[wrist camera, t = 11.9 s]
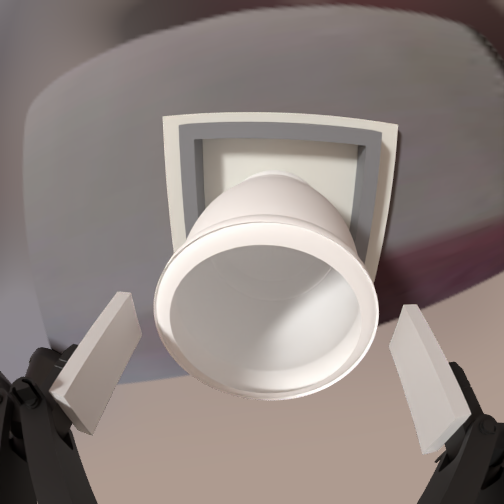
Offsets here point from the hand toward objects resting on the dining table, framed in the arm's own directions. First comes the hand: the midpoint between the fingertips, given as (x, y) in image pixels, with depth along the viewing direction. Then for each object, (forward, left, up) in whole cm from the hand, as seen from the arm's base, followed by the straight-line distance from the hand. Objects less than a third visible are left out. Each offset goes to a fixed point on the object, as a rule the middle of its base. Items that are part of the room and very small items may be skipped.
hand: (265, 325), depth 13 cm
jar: (0, 0, -14) cm, 14 cm away
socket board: (0, 0, -15) cm, 15 cm away
